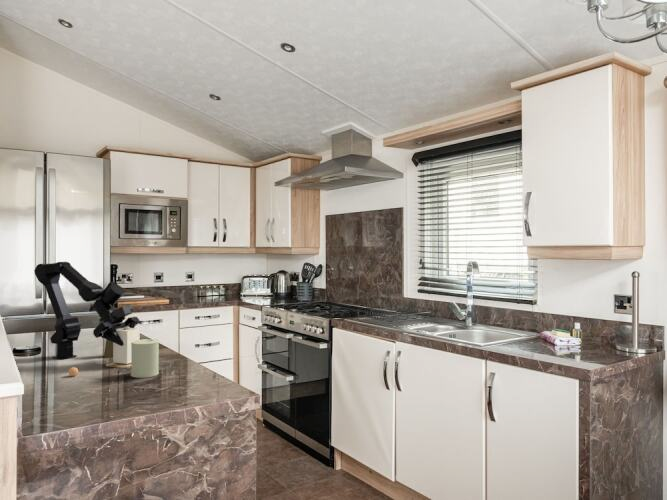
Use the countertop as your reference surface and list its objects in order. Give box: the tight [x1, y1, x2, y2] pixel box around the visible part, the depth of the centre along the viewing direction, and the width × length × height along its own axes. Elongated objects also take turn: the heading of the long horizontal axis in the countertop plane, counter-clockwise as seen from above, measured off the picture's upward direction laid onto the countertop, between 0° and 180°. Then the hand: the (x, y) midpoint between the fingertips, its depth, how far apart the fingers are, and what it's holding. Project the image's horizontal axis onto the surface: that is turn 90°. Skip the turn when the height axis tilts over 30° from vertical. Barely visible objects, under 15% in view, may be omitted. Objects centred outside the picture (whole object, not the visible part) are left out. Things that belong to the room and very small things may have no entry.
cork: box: [103, 329, 117, 359], centre depth 206 cm, size 6×6×11 cm
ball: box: [68, 366, 79, 377], centre depth 174 cm, size 3×3×3 cm
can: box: [130, 338, 160, 379], centre depth 178 cm, size 9×9×12 cm
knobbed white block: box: [112, 326, 141, 364], centre depth 192 cm, size 6×6×13 cm
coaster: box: [105, 361, 131, 369], centre depth 192 cm, size 10×10×1 cm
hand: (129, 343), depth 192 cm, fingers open, 7 cm apart
